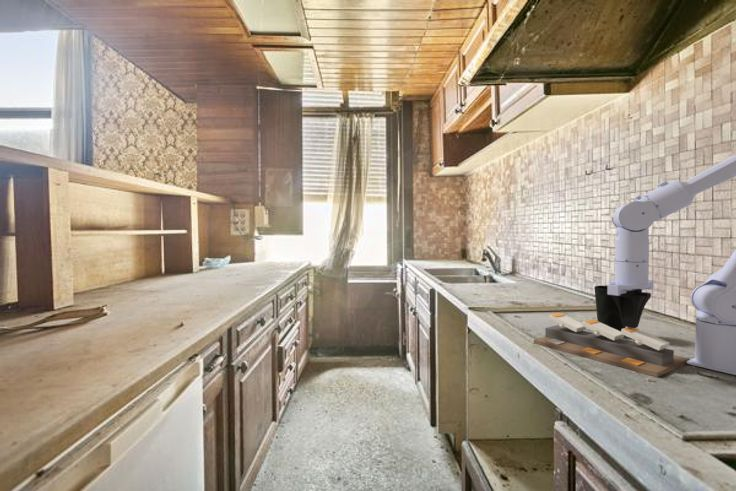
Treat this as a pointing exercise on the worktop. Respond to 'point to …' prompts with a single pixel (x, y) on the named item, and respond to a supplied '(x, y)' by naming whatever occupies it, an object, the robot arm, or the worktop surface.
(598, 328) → the switch
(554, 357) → the worktop surface
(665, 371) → the switch board
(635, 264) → the robot arm
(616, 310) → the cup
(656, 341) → the switch
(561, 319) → the switch
